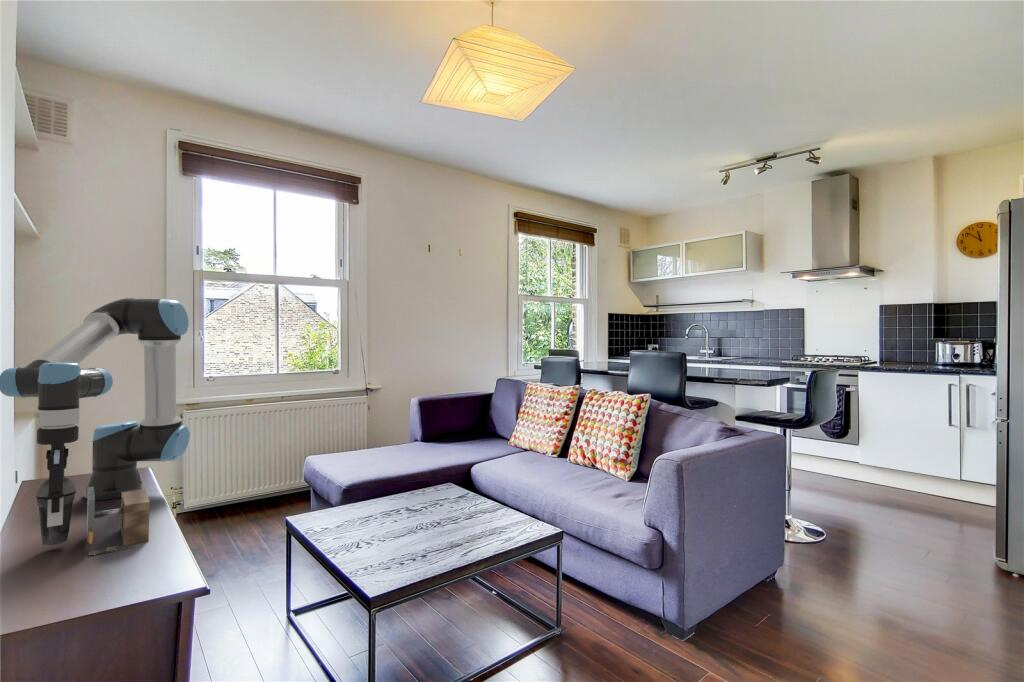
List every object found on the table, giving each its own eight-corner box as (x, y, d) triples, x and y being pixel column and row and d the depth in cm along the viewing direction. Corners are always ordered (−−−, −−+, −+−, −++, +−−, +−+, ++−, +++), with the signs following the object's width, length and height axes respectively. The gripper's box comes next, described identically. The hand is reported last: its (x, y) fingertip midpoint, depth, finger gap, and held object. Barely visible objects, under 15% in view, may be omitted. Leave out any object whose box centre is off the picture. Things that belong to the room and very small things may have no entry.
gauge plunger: (87, 544, 119) (88, 502, 119) (86, 525, 131) (87, 487, 131) (139, 535, 125) (140, 494, 125) (134, 517, 137) (135, 481, 137)
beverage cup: (82, 538, 124) (84, 457, 124) (46, 549, 117) (49, 463, 117) (62, 534, 126) (65, 454, 127) (27, 545, 119) (29, 460, 120)
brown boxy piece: (88, 556, 118) (89, 513, 118) (87, 535, 131) (89, 496, 131) (149, 544, 126) (150, 504, 126) (143, 525, 139) (144, 489, 139)
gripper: (39, 422, 127) (37, 512, 127) (34, 433, 112) (31, 537, 112) (78, 419, 132) (76, 507, 132) (78, 430, 117) (75, 529, 117)
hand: (55, 520), depth 122 cm, fingers closed on beverage cup, 7 cm apart
